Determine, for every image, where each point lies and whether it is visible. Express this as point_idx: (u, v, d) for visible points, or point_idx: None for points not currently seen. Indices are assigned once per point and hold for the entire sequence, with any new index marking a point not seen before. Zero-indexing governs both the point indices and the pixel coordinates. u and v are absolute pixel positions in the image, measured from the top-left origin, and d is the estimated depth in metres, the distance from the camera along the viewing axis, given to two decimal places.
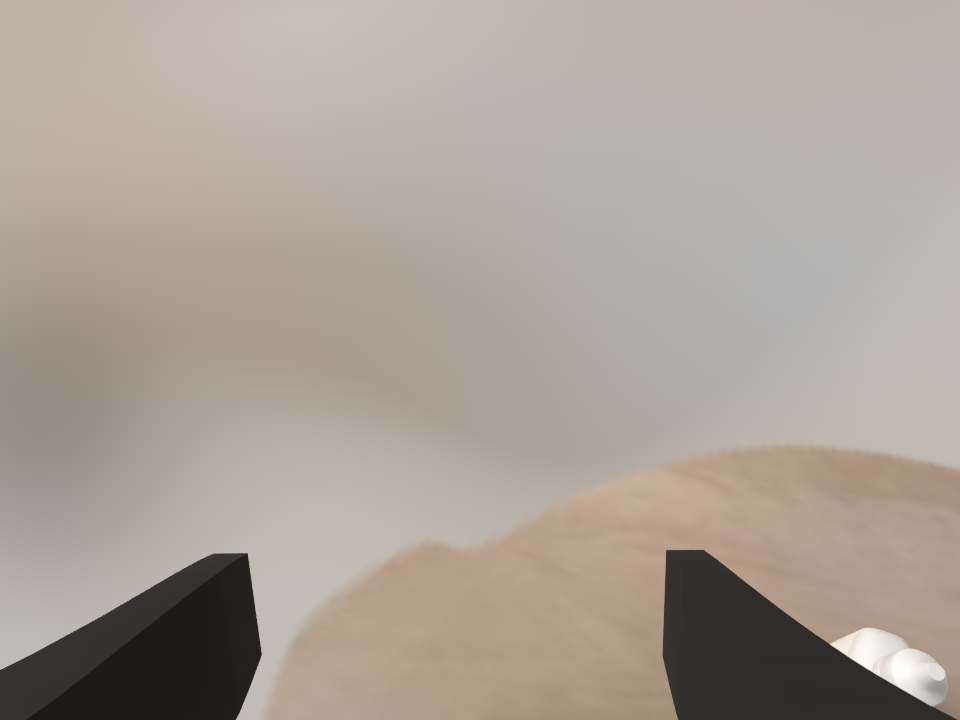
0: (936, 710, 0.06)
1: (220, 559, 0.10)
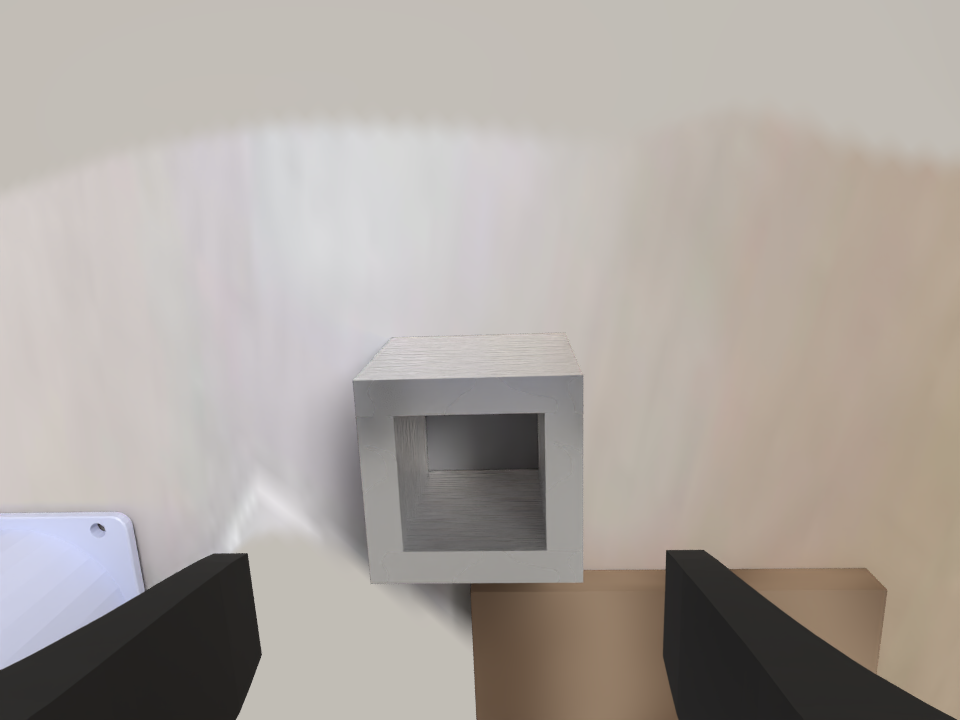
0: (934, 711, 0.06)
1: (220, 560, 0.10)
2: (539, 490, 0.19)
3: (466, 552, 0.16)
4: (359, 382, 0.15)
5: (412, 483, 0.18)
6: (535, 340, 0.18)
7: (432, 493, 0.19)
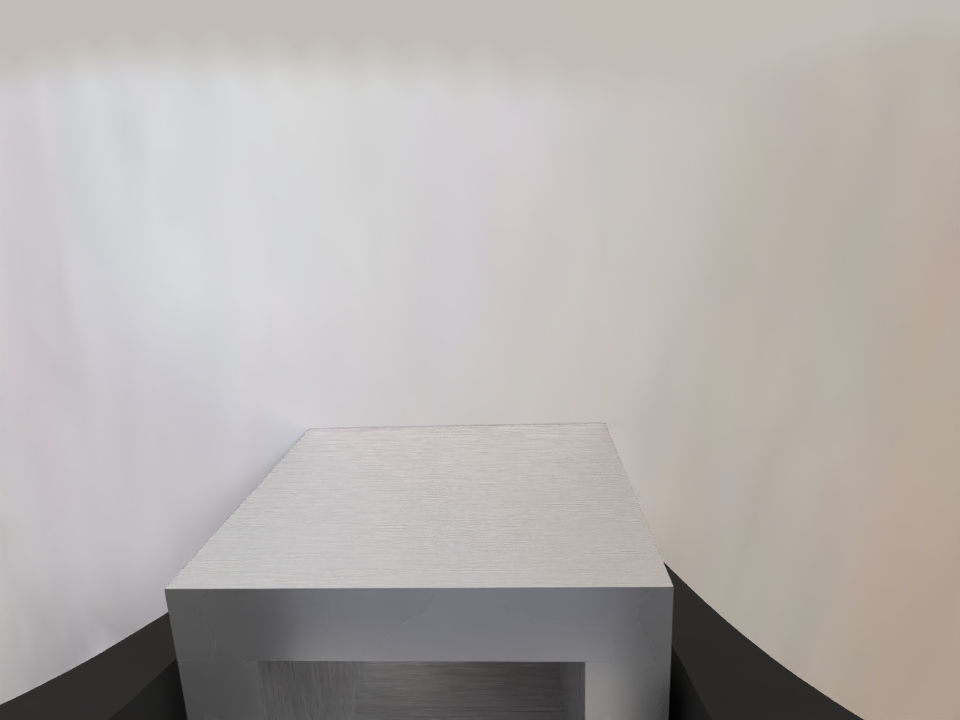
0: (845, 711, 0.06)
1: None
2: (561, 701, 0.11)
3: None
4: (178, 593, 0.07)
5: None
6: (555, 445, 0.10)
7: (374, 703, 0.11)
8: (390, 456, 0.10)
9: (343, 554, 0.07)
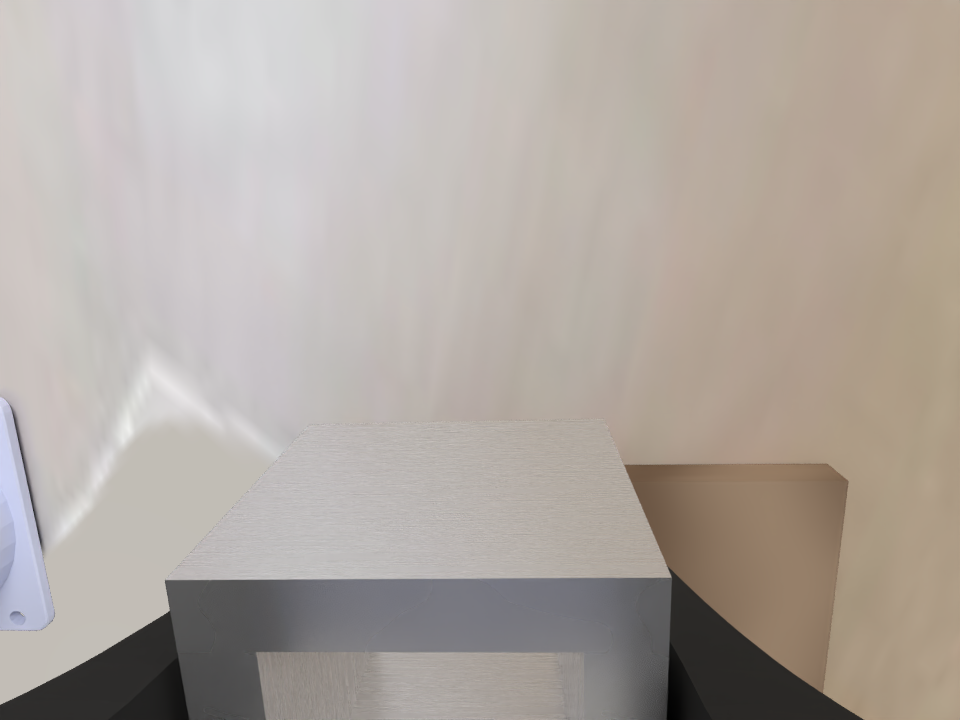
0: (845, 711, 0.06)
1: None
2: (560, 696, 0.11)
3: None
4: (179, 584, 0.07)
5: (328, 714, 0.10)
6: (554, 440, 0.10)
7: (373, 698, 0.11)
8: (390, 451, 0.10)
9: (343, 546, 0.07)
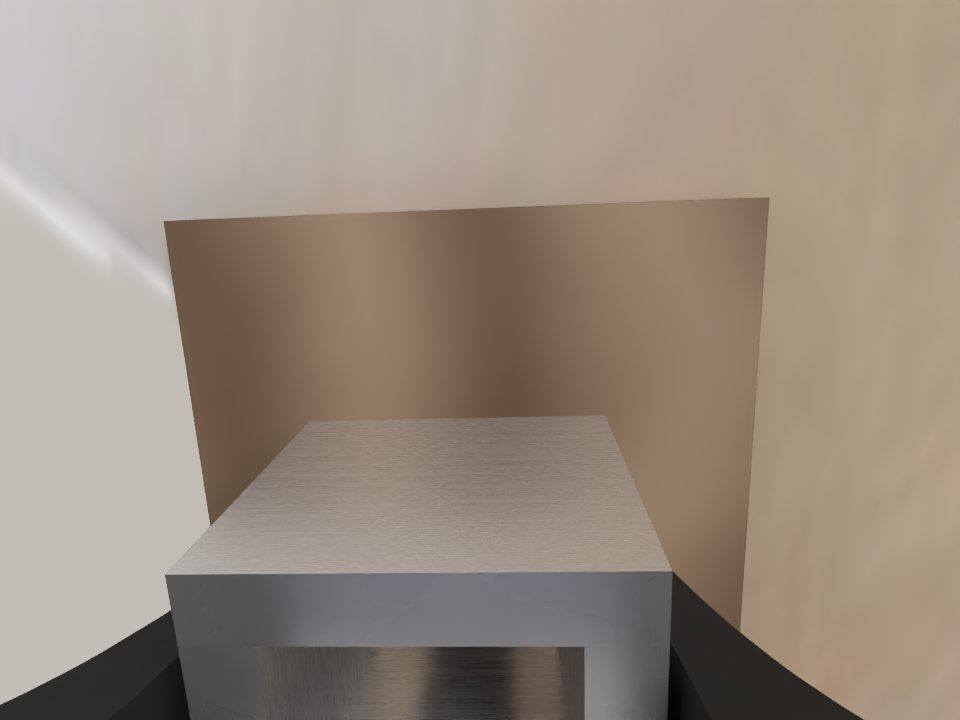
0: (845, 711, 0.06)
1: None
2: (560, 693, 0.11)
3: None
4: (179, 579, 0.07)
5: (328, 710, 0.10)
6: (554, 437, 0.10)
7: (374, 695, 0.11)
8: (390, 447, 0.10)
9: (343, 541, 0.07)
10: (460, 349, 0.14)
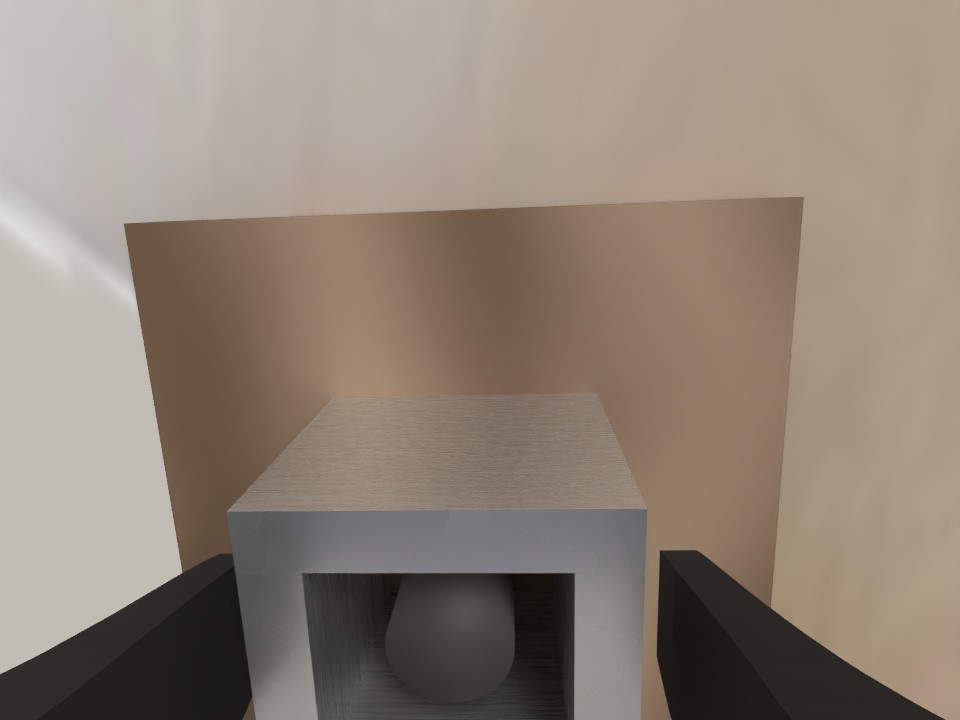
0: (925, 711, 0.06)
1: (226, 560, 0.10)
2: (555, 638, 0.12)
3: None
4: (238, 515, 0.08)
5: (353, 645, 0.11)
6: (551, 410, 0.12)
7: None
8: (407, 418, 0.12)
9: (373, 488, 0.09)
10: (456, 366, 0.13)
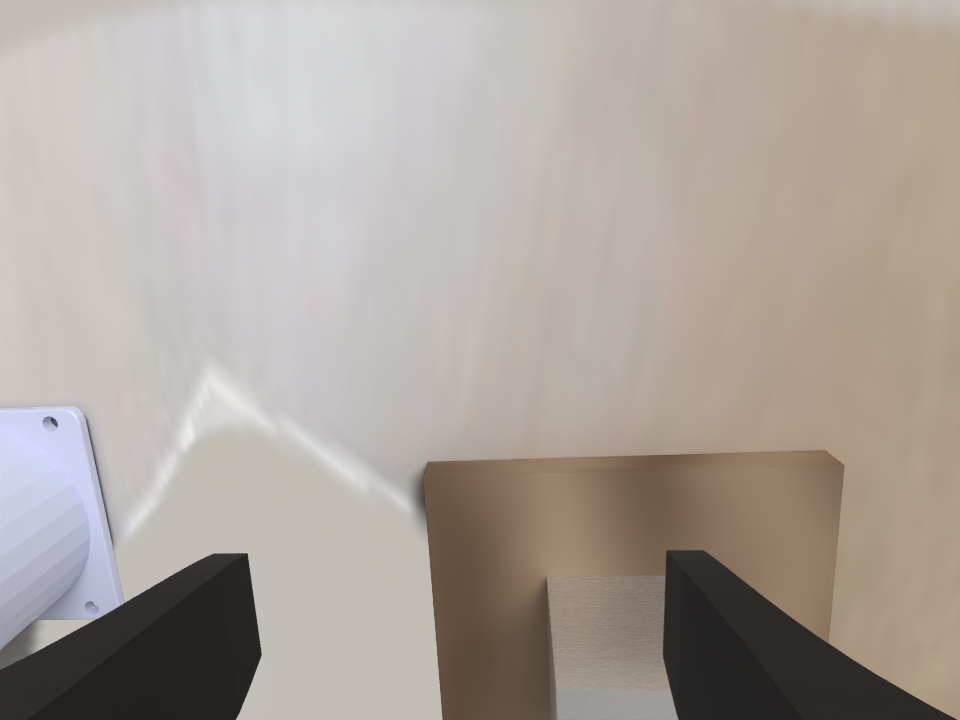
0: (936, 711, 0.06)
1: (220, 560, 0.10)
2: None
3: None
4: (563, 692, 0.16)
5: None
6: None
7: None
8: (607, 602, 0.19)
9: (623, 671, 0.16)
10: (626, 559, 0.20)
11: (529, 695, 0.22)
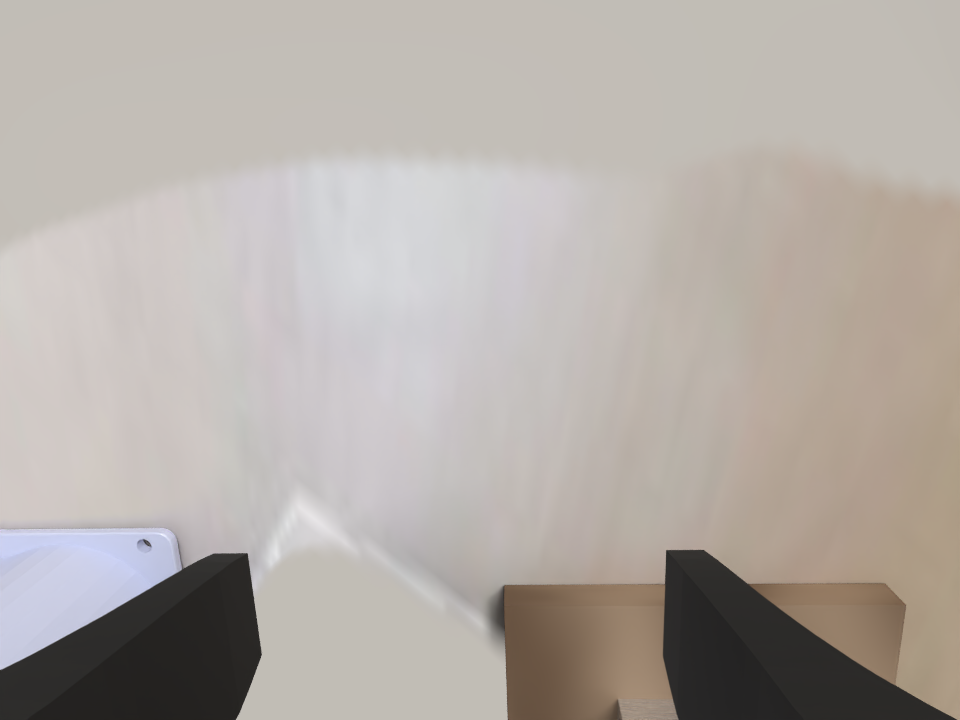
0: (936, 711, 0.06)
1: (220, 559, 0.10)
2: None
3: None
4: None
5: None
6: None
7: None
8: None
9: None
10: None
11: None
